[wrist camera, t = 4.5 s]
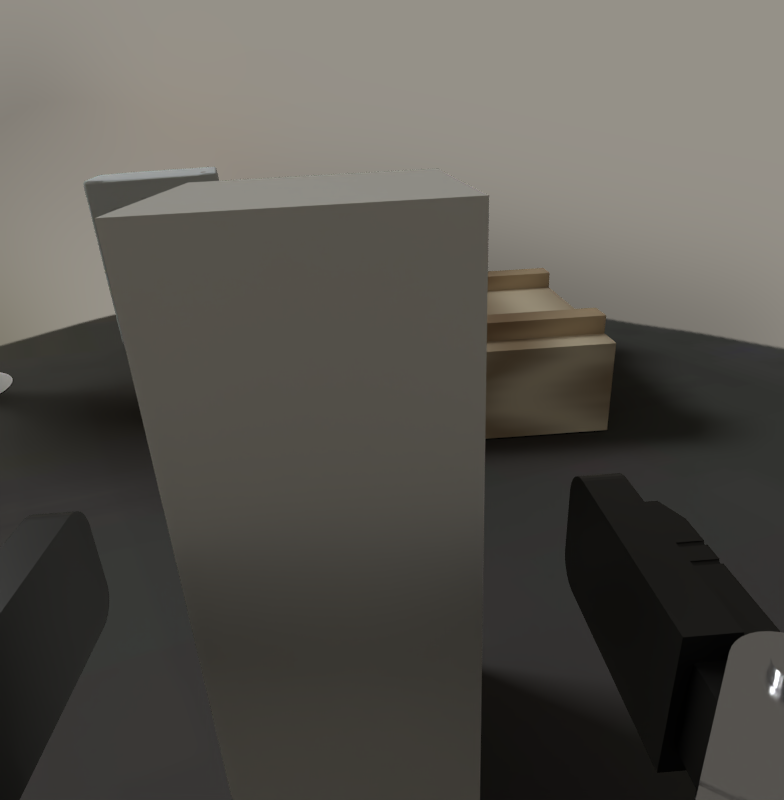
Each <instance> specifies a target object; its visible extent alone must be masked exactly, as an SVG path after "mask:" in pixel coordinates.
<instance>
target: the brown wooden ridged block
mask: <svg viewBox="0 0 784 800" xmlns="http://www.w3.org/2000/svg"><path fill="white" fill-rule="evenodd" d="M605 320H606V315H605V314H603V313H602V312H601V311H599V310H598V309H597V308H584V309H574V308H573V307H572V306H571V305H569V304H568V303H567V302H566V301H564V300H563V299H562V298H561V297H560V296H558V295H557V294H556V293H555V292H554V291H552V290H551V289H550V288H549V272H547V271H546V270H545V269H544V268H537V269H521V270H505V271H489V272H488V292H487V359H486V426H485V439H490V438H503V437H517V436H531V435H544V434H558V433H572V432H585V431H599V430H607V425H608V416H609V406H610V396H611V387H612V377H613V367H614V358H615V348H616V343H615V342H614V341H613V340H612V339H610V338H609V337H608V336H607V335H606V334H604V330H605Z"/></svg>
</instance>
